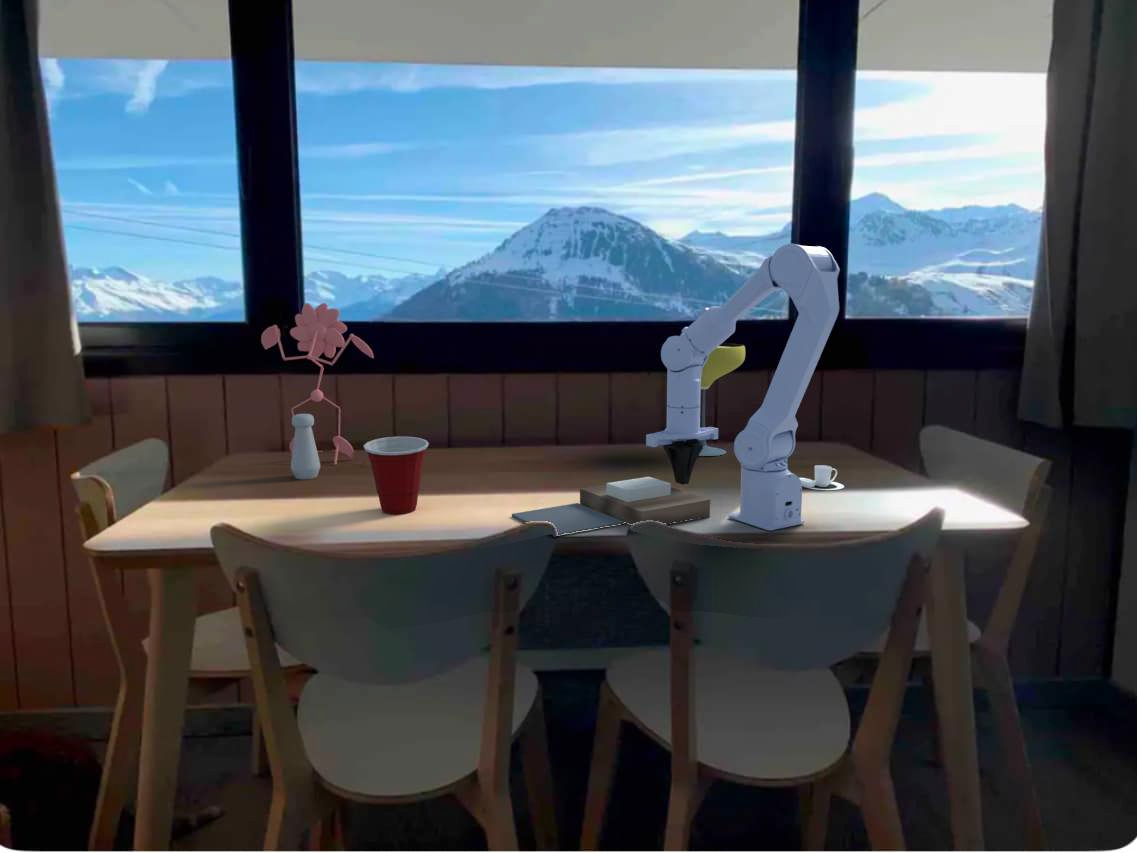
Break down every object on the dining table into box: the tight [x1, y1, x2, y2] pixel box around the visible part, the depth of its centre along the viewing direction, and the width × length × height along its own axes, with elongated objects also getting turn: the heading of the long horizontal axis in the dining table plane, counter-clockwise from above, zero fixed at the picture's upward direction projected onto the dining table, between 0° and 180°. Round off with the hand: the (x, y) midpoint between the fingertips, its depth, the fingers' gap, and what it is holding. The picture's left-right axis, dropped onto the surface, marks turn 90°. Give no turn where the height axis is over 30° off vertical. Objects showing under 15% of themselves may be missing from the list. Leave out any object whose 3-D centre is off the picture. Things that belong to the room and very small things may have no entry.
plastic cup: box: [363, 436, 430, 515], centre depth 137 cm, size 11×11×12 cm
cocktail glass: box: [699, 342, 746, 457], centre depth 186 cm, size 18×18×25 cm
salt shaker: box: [290, 413, 321, 481], centre depth 163 cm, size 6×6×13 cm
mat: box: [511, 502, 625, 535], centre depth 132 cm, size 14×13×1 cm
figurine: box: [260, 302, 375, 466], centre depth 180 cm, size 15×26×35 cm, turn 84°
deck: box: [579, 484, 711, 524], centre depth 137 cm, size 18×14×3 cm
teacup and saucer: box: [799, 464, 845, 491], centre depth 155 cm, size 9×8×4 cm
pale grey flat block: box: [605, 476, 672, 502], centre depth 136 cm, size 9×6×2 cm, turn 122°
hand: (682, 483), depth 141 cm, fingers closed
